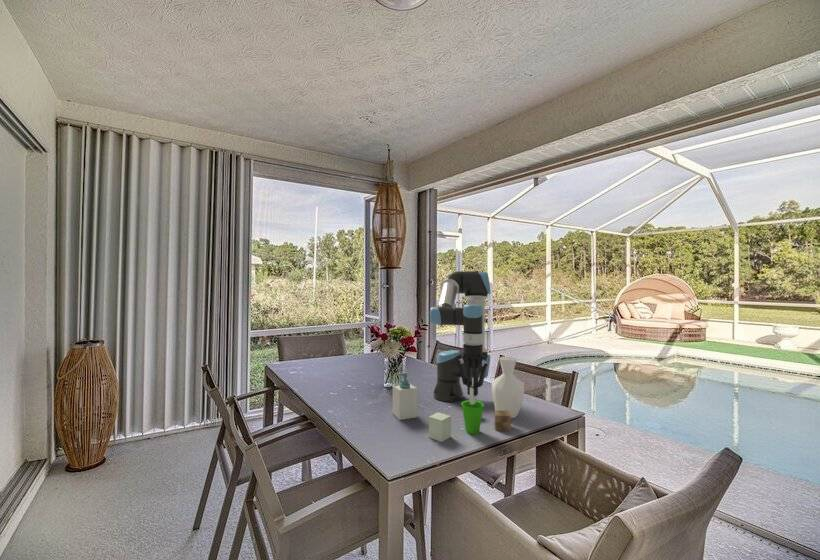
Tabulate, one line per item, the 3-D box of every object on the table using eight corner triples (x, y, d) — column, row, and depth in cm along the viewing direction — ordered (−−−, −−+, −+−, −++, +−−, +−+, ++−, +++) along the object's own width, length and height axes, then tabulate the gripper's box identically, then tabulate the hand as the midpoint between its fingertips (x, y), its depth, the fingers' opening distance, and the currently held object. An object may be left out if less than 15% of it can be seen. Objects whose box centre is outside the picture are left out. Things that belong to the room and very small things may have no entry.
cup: (458, 427, 149) (458, 400, 149) (480, 426, 150) (480, 399, 150) (463, 437, 140) (464, 408, 140) (487, 436, 141) (487, 407, 141)
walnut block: (495, 430, 147) (495, 415, 147) (494, 424, 152) (494, 410, 152) (510, 431, 145) (510, 416, 145) (509, 425, 151) (509, 411, 151)
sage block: (428, 437, 140) (428, 416, 140) (438, 432, 144) (438, 412, 144) (441, 442, 136) (441, 420, 136) (450, 436, 140) (450, 416, 140)
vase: (506, 423, 153) (506, 363, 153) (484, 412, 166) (484, 357, 166) (531, 417, 160) (531, 360, 160) (508, 407, 172) (508, 354, 172)
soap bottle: (392, 413, 164) (392, 371, 164) (410, 410, 168) (410, 369, 168) (399, 420, 156) (399, 375, 156) (417, 417, 160) (417, 373, 160)
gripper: (453, 343, 145) (453, 403, 145) (485, 346, 138) (485, 409, 138) (461, 340, 151) (460, 398, 151) (491, 343, 145) (491, 403, 145)
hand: (472, 403), depth 145 cm, fingers closed
